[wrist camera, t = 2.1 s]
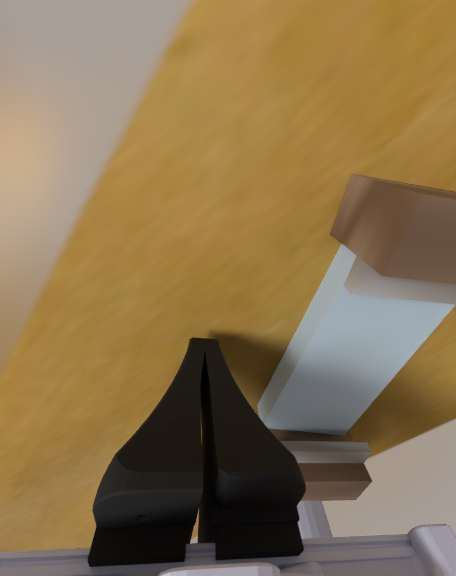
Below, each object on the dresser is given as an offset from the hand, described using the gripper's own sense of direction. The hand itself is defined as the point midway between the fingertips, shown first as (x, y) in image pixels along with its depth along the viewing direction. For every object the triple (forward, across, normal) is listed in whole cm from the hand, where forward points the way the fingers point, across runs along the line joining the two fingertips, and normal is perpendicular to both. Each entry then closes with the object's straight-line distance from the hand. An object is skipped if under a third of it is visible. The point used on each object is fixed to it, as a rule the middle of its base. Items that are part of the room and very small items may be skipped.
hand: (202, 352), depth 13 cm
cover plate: (+2, -8, 0) cm, 8 cm away
